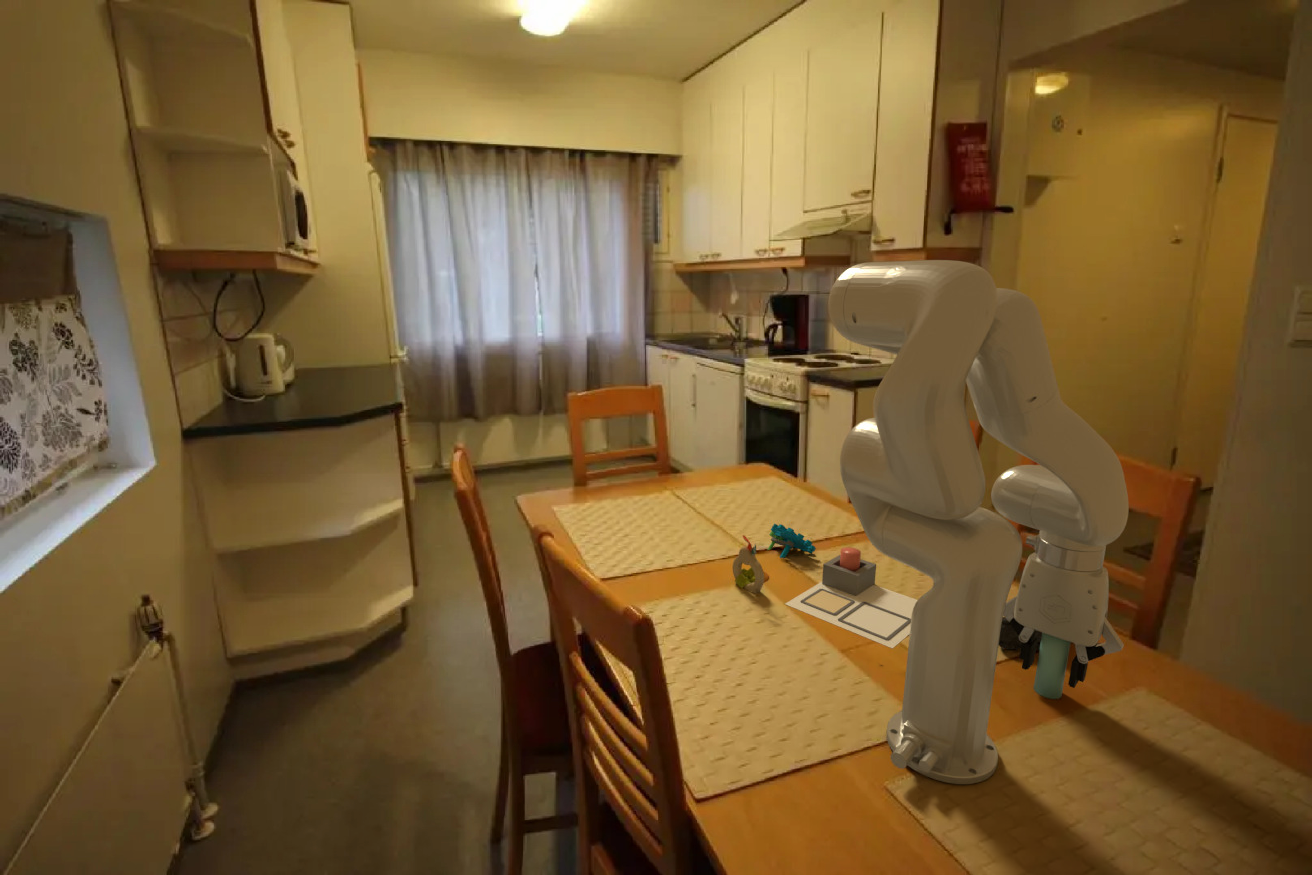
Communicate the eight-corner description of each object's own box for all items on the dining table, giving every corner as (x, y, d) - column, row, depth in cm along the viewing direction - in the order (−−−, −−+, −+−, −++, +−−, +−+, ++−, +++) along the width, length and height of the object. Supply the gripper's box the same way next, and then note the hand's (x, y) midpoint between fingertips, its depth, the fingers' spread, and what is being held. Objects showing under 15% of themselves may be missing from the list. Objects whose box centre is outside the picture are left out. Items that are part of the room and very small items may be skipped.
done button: (852, 582, 119) (854, 556, 118) (835, 575, 122) (837, 551, 121) (862, 575, 122) (864, 551, 121) (845, 569, 124) (846, 545, 123)
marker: (1058, 702, 89) (1070, 630, 86) (1029, 691, 91) (1040, 620, 89) (1065, 691, 91) (1077, 620, 89) (1037, 680, 94) (1048, 611, 91)
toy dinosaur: (826, 552, 134) (799, 525, 129) (812, 576, 132) (784, 550, 127) (788, 541, 143) (762, 516, 138) (775, 564, 141) (748, 539, 137)
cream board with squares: (892, 651, 101) (892, 647, 101) (784, 606, 115) (784, 603, 115) (939, 610, 113) (940, 607, 113) (837, 574, 127) (837, 571, 127)
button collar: (856, 596, 117) (857, 575, 116) (822, 583, 122) (823, 564, 121) (874, 583, 122) (876, 564, 121) (841, 572, 127) (842, 553, 126)
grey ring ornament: (787, 592, 120) (789, 534, 117) (748, 600, 117) (750, 541, 114) (765, 576, 127) (767, 521, 124) (728, 583, 124) (729, 527, 121)
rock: (1018, 630, 96) (1022, 575, 102) (975, 643, 103) (981, 591, 109) (1082, 671, 97) (1082, 614, 103) (1035, 681, 104) (1038, 627, 110)
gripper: (991, 543, 90) (976, 660, 94) (1142, 583, 78) (1117, 714, 82) (1010, 528, 95) (994, 640, 99) (1154, 564, 83) (1129, 689, 87)
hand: (1050, 672), depth 91 cm, fingers open, 5 cm apart
